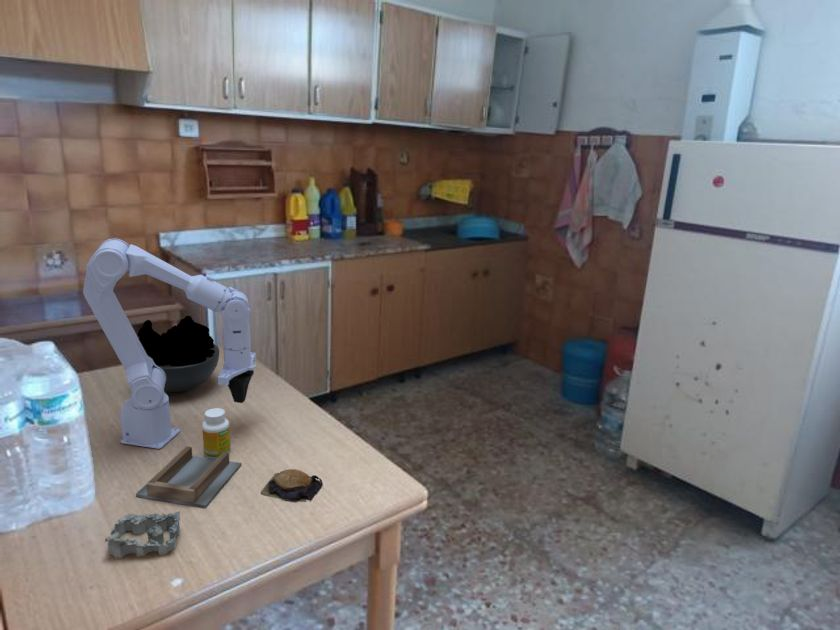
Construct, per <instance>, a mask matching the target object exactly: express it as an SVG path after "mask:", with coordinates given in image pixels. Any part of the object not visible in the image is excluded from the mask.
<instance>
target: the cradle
mask: <svg viewBox="0 0 840 630" xmlns="http://www.w3.org/2000/svg"><path fill="white" fill-rule="evenodd" d="M229 454H230V453H228V452H223V453H222V454H221V455H220V456H219V457H218V458H217V459H212V458H207V457H206V456H204V457H203V456H198V455H193V447H192V446H185V447H184V448H183V449H181V451H180V452H179V453H178V454H176V456H174V457H173V458H172V459H171V460H170V461H169V462H168V463H167V464H166V465H165V466H164V467H162V469H161V470H160V471H158V473H156V474H155V475H154V476H153V477H152V478H151V479H150V480H149V481H148V482H147V483H145V485H144V486H143V487H141V488H140V490H138V491H137V492H136V494H135V497H136V498H141V499H147V500H154V501H161V502H165V503H166V502H167V503H173V504H177V505H185V506H191V507H197V508H203V509H207V508H208V506H209V505H210V504H211V503H212V501H213V500H214V499H215V498H216V497H217V495H218V494H219V493H220V492H221V490H222V489H223V488H224V487H225V486H226V485H227V483H228V482H230V480H231V479H232V478H233V476H234V475H235V474H236V473H237V471H238V470H239V469H240V468H241V467H242V462H238V461H237V462H236V461H231V460H230V455H229Z"/></svg>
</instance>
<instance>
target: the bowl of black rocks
mask: <svg viewBox="0 0 840 630" xmlns="http://www.w3.org/2000/svg"><path fill="white" fill-rule="evenodd" d="M166 330H167V331H166V332H163V333H162V334H159V333H158V332H156V331H155V330H154V329H153V322H152V321H151V320H150V319H147V320H145V321H144V322H143V324H142V326H141V328H139V330H138V331H137V334H136V335H137V337H138V339H139V341H140V343H141V344H142V346H143V348H144V350H145V352H146V354H147V355H148V356H149V357H150V358H152V359H153V361H154V363H155V364H156V365H157V366H158V367H159V368H161V369H162V370H163V371H164V372H165V374H166V383H165V387H164V392H170V393H180V392H188V391H190V390H193V389H196V388H197V387H199V386H201V385H202V384H204V383H205V382H206V381H208V379H209V378H210V377H211V376H212V375H213V373H214V372H215V370H216V367H217V365H218V363H219V360H220V348H219V346H218V345H216V344H215V341H214V339H213V337H212V336H211V335H210V333H209V332H210V328H209V327H208V326H207V325H203V324H201V323H199V322H196V321H194V319H193V317H192V316H191V315H186V316H185V317H184V318H182V319H180V321H179V323H177V325H176V324H175V325H173V326H172V327H171V328H168V329H166Z"/></svg>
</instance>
